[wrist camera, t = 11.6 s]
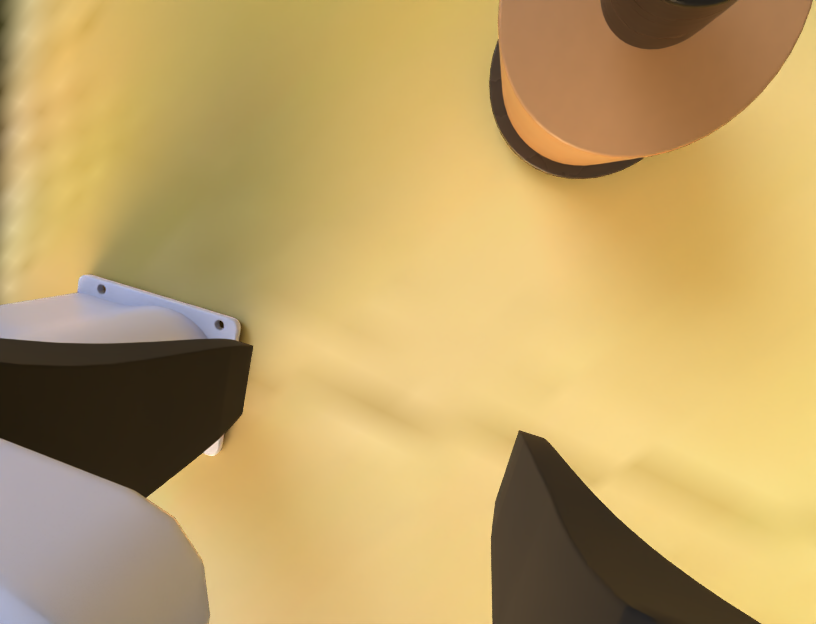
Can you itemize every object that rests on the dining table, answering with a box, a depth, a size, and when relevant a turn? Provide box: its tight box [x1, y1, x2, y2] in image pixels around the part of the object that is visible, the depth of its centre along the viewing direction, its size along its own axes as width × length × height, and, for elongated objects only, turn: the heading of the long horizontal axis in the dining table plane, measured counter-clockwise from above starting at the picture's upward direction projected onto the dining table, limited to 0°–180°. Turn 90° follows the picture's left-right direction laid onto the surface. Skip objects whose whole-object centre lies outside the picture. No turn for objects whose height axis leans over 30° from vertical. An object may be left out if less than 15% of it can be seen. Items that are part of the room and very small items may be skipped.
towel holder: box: [489, 0, 813, 179], centre depth 12 cm, size 8×8×12 cm
